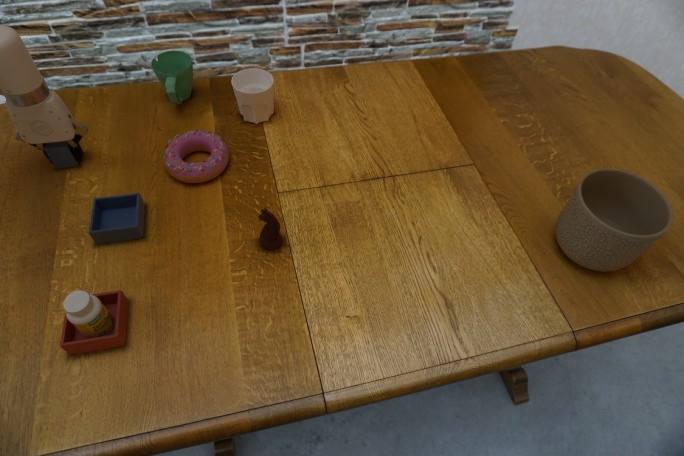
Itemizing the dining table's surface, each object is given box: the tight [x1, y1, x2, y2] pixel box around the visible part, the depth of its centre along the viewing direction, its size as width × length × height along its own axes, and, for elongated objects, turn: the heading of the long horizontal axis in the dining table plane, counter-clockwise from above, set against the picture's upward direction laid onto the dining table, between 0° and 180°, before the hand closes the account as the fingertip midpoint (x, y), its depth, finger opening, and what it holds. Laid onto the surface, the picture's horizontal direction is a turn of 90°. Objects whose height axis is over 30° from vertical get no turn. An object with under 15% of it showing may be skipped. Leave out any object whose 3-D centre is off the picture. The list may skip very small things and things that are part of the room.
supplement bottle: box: [62, 290, 114, 339], centre depth 78 cm, size 5×5×10 cm
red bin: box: [59, 289, 130, 356], centre depth 80 cm, size 9×9×4 cm
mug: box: [150, 49, 194, 105], centre depth 116 cm, size 15×10×10 cm
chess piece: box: [257, 207, 283, 251], centre depth 91 cm, size 5×5×10 cm
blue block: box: [44, 141, 80, 169], centre depth 103 cm, size 5×5×6 cm
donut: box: [162, 129, 230, 184], centre depth 105 cm, size 14×14×5 cm
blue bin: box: [88, 192, 146, 246], centre depth 94 cm, size 9×9×4 cm
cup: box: [230, 67, 275, 125], centre depth 114 cm, size 10×10×10 cm
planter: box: [554, 167, 675, 273], centre depth 91 cm, size 17×17×15 cm
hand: (66, 157), depth 105 cm, fingers closed on blue block, 4 cm apart
